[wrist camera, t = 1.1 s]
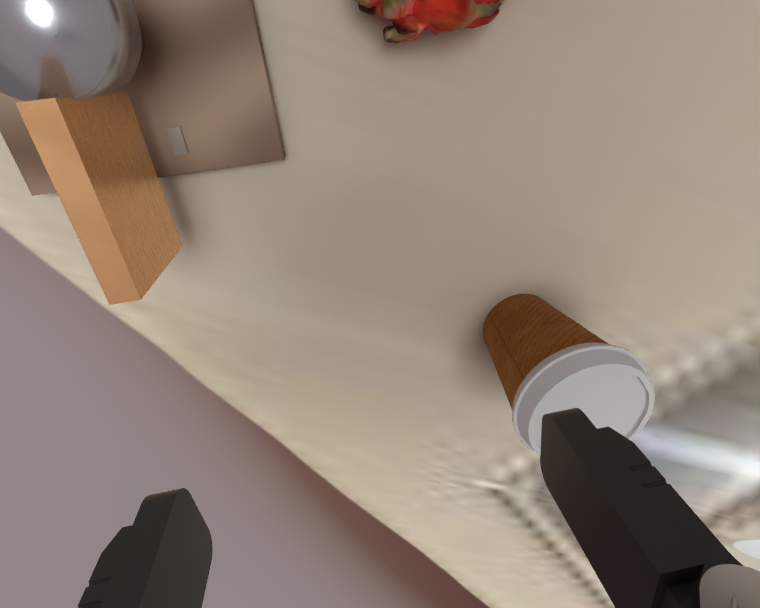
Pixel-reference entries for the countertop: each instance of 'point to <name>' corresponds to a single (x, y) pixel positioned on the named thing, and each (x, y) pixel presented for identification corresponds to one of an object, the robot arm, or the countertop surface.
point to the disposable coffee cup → (563, 370)
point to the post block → (185, 93)
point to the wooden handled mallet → (90, 132)
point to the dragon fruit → (429, 15)
